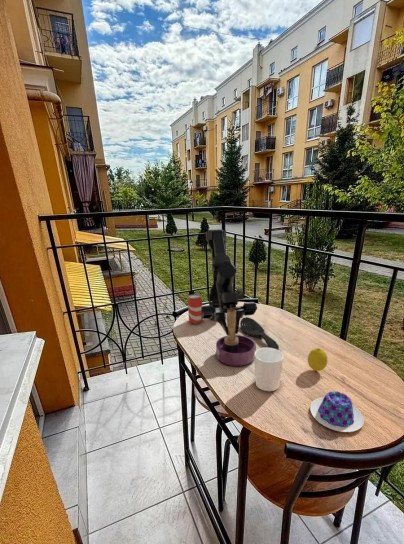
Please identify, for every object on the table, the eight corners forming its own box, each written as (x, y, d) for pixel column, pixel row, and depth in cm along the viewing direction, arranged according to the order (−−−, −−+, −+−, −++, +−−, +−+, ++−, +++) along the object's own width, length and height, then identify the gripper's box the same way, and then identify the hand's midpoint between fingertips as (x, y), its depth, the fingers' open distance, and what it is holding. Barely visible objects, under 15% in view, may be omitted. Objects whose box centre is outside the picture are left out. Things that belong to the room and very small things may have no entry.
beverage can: (195, 325, 121) (193, 299, 116) (186, 321, 125) (184, 296, 121) (205, 321, 124) (204, 296, 120) (196, 317, 129) (195, 292, 125)
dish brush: (234, 344, 99) (235, 306, 94) (241, 351, 94) (241, 311, 89) (221, 347, 97) (221, 308, 92) (227, 354, 93) (227, 314, 88)
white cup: (276, 396, 77) (278, 365, 73) (249, 387, 81) (250, 357, 77) (284, 381, 83) (287, 351, 79) (259, 373, 87) (260, 345, 83)
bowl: (217, 346, 103) (216, 334, 101) (253, 347, 102) (253, 334, 100) (216, 367, 91) (215, 353, 89) (257, 367, 90) (257, 354, 88)
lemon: (316, 378, 83) (319, 354, 81) (302, 369, 88) (305, 346, 85) (329, 372, 86) (333, 349, 83) (315, 364, 90) (318, 342, 88)
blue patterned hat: (300, 403, 74) (302, 387, 72) (340, 395, 76) (343, 379, 74) (329, 439, 63) (332, 421, 61) (375, 428, 65) (379, 410, 63)
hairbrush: (267, 347, 96) (236, 316, 118) (266, 356, 97) (236, 324, 119) (288, 342, 98) (253, 314, 120) (287, 351, 100) (253, 321, 121)
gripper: (200, 283, 90) (205, 328, 84) (256, 279, 92) (266, 323, 86) (198, 297, 101) (203, 339, 94) (249, 294, 102) (257, 334, 96)
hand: (232, 334), depth 92 cm, fingers closed on dish brush, 3 cm apart
